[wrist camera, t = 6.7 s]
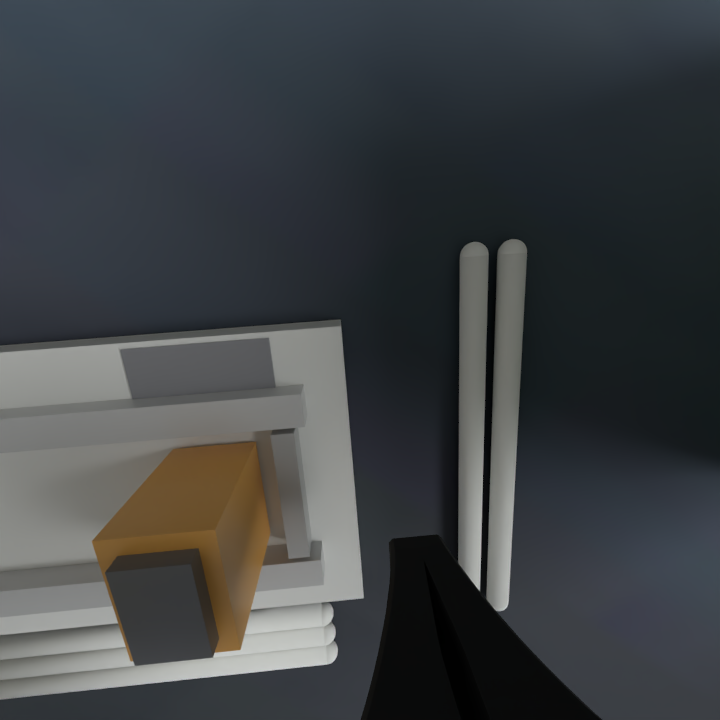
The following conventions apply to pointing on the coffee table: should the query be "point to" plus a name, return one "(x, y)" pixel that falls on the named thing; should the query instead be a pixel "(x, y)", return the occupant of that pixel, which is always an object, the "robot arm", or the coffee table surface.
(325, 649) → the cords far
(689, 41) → the coffee table surface
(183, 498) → the lever
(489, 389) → the coffee table surface
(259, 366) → the white flat tray
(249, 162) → the coffee table surface
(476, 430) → the cords near
